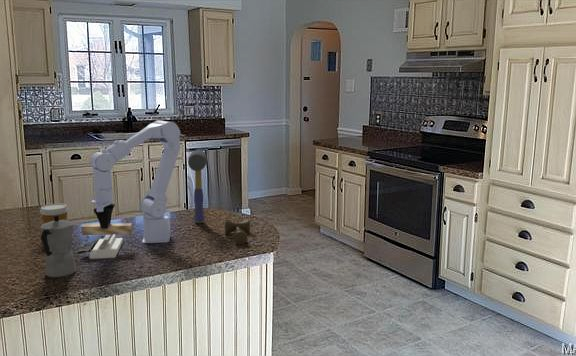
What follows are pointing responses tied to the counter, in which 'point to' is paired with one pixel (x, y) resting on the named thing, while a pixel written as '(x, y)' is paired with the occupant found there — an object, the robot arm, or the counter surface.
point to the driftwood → (87, 245)
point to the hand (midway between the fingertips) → (105, 226)
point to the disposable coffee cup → (53, 212)
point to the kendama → (238, 230)
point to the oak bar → (111, 230)
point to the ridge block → (106, 247)
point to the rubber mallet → (198, 182)
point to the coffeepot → (58, 247)
